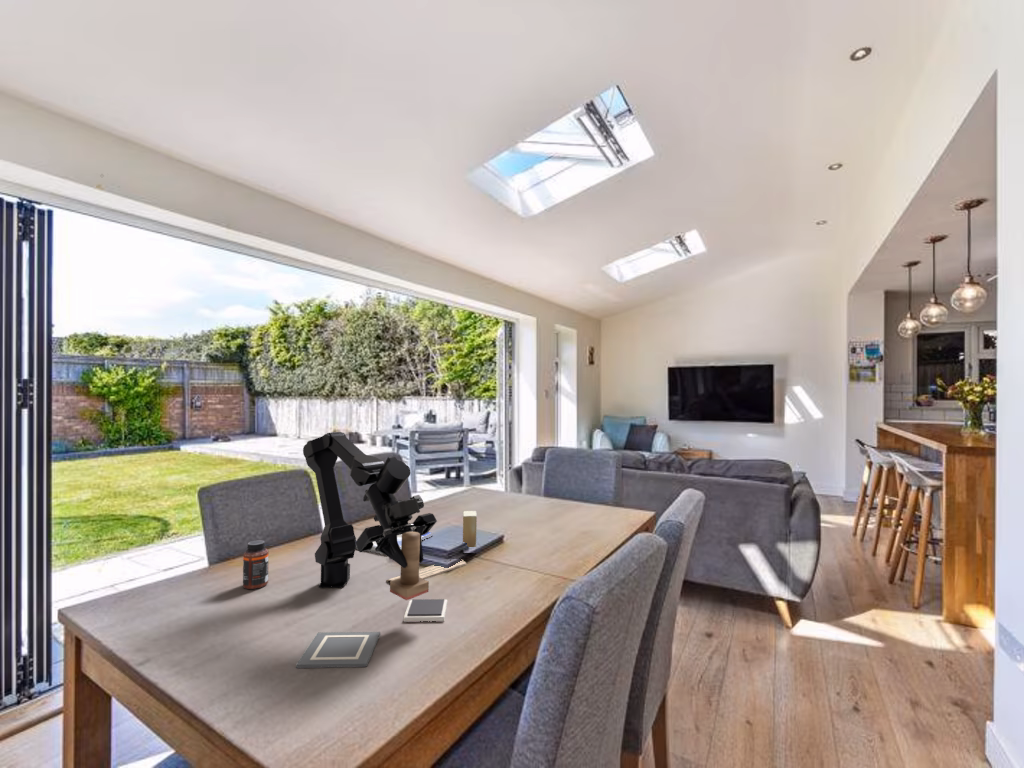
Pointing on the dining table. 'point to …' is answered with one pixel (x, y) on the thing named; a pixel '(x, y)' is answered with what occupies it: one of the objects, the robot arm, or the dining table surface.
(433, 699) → the dining table surface
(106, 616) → the dining table surface
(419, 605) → the ink pad
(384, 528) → the robot arm
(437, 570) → the newspaper
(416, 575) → the stamp
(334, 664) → the form board
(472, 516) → the skincare box
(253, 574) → the supplement bottle
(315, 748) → the dining table surface
